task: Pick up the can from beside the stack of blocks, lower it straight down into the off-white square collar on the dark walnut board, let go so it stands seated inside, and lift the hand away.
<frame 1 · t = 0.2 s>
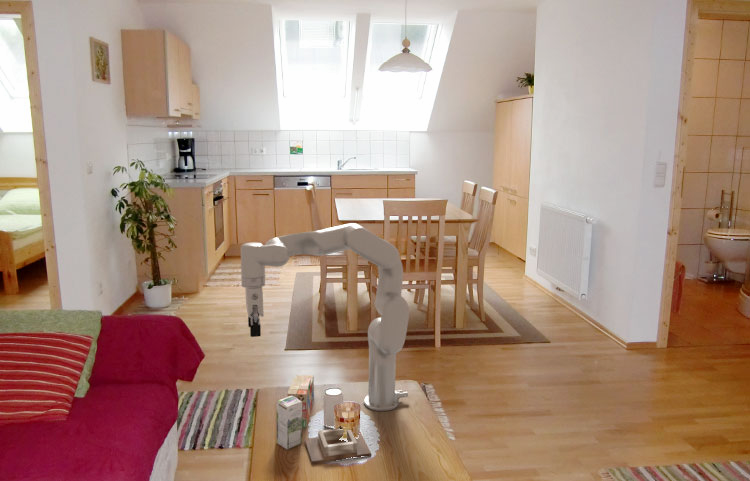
hand: (254, 331, 191), 31 cm above the table, tool pointing down, fingers open, 9 cm apart
syrup box: (289, 444, 181), on the table
stack of blocks: (301, 413, 201), on the table
collar board: (337, 448, 179), on the table
can: (333, 425, 193), on the table
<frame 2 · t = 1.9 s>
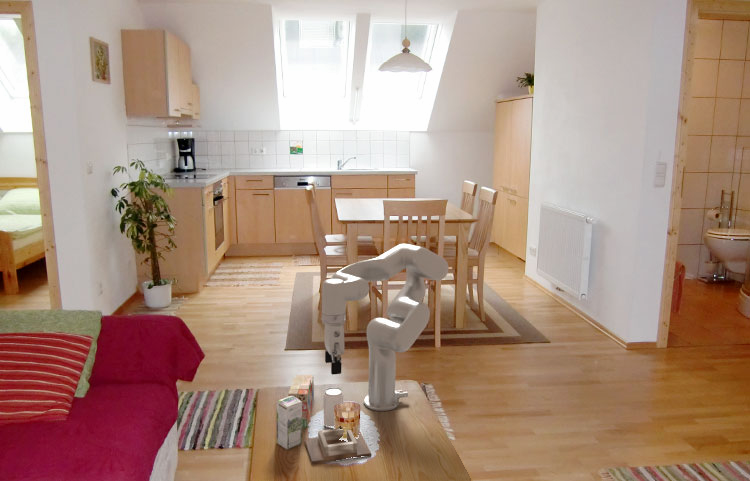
hand: (333, 367, 189), 20 cm above the table, tool pointing down, fingers open, 9 cm apart
nothing on the table moved.
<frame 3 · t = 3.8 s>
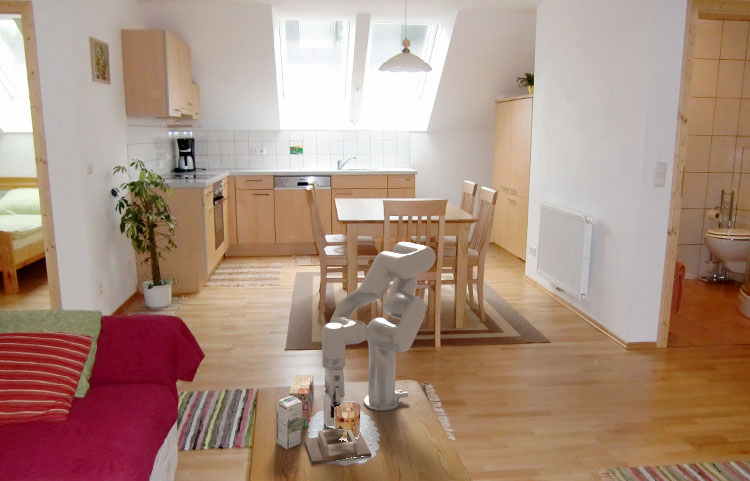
hand: (333, 411, 192), 5 cm above the table, tool pointing down, fingers closed on can, 6 cm apart
can: (333, 425, 193), on the table, touching gripper
everything else where it was.
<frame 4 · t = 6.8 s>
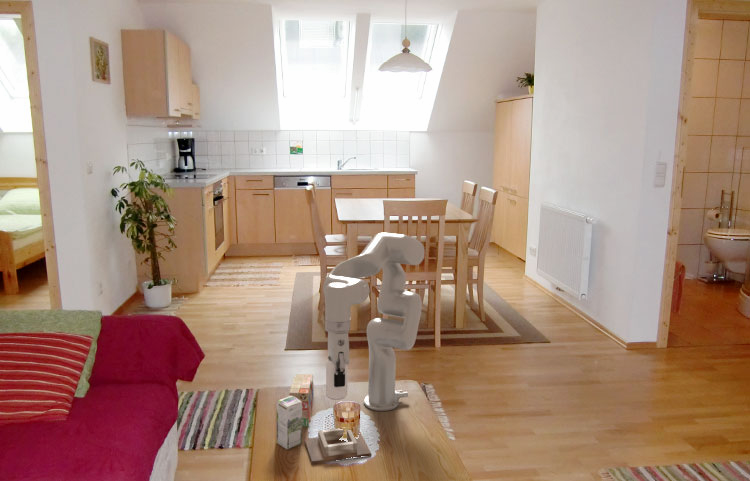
hand: (337, 381, 175), 22 cm above the table, tool pointing down, fingers closed on can, 6 cm apart
can: (336, 396, 176), point 17 cm above the table, touching gripper
everything else where it was.
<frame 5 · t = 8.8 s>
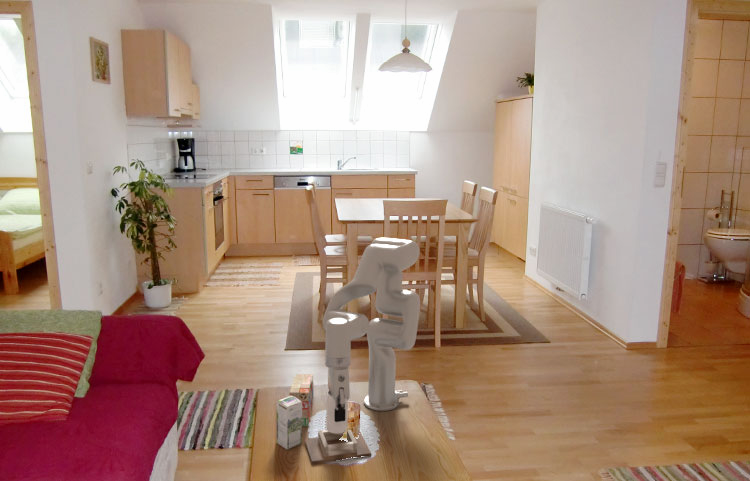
hand: (337, 415, 176), 11 cm above the table, tool pointing down, fingers closed on can, 6 cm apart
can: (336, 429, 177), point 6 cm above the table, touching gripper
when the fingers open (7 cm above the table, at t = 10.2 s): can drops 1 cm, resting on collar board.
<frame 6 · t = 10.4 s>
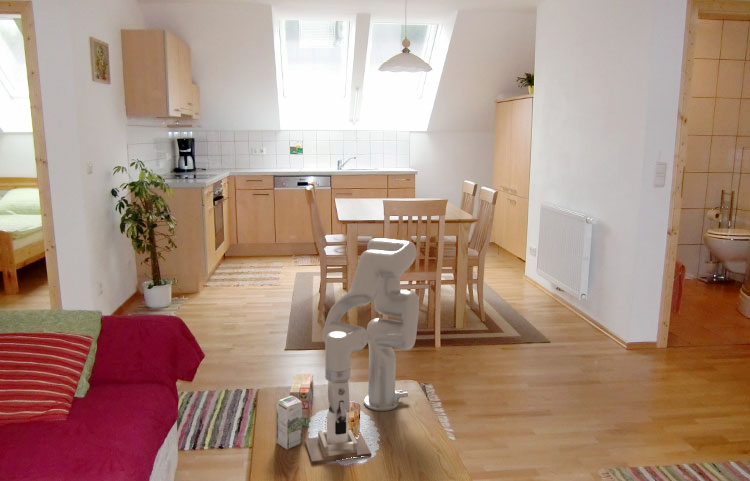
hand: (337, 426, 177), 7 cm above the table, tool pointing down, fingers open, 8 cm apart
can: (337, 445, 179), point 1 cm above the table, touching collar board
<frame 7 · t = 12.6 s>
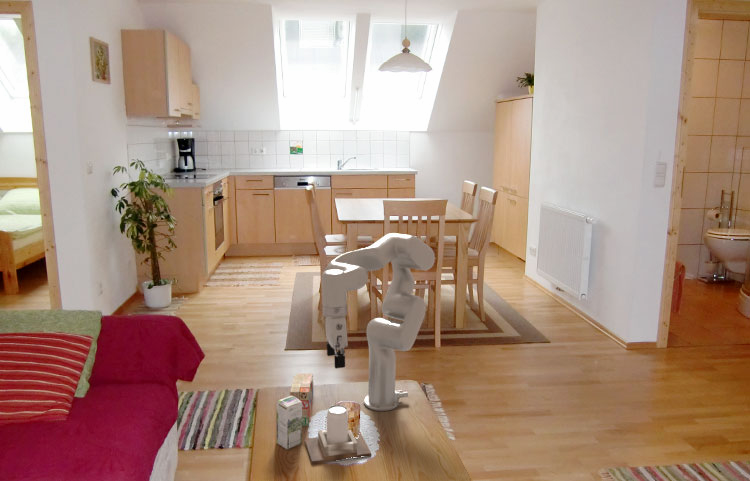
hand: (335, 361, 183), 25 cm above the table, tool pointing down, fingers open, 9 cm apart
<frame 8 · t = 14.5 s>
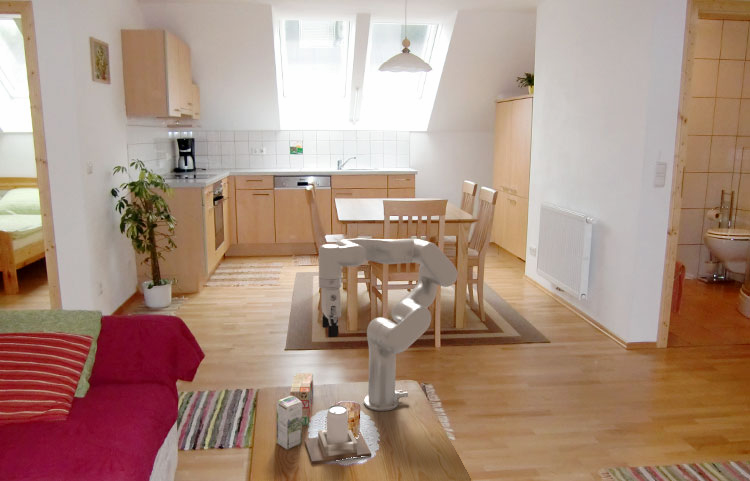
hand: (330, 331, 193), 30 cm above the table, tool pointing down, fingers open, 9 cm apart
at the end: can 0.3 cm off-centre on the collar board, point 0.8 cm above the collar board's base; can tilted 0°; the gripper is holding nothing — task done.
